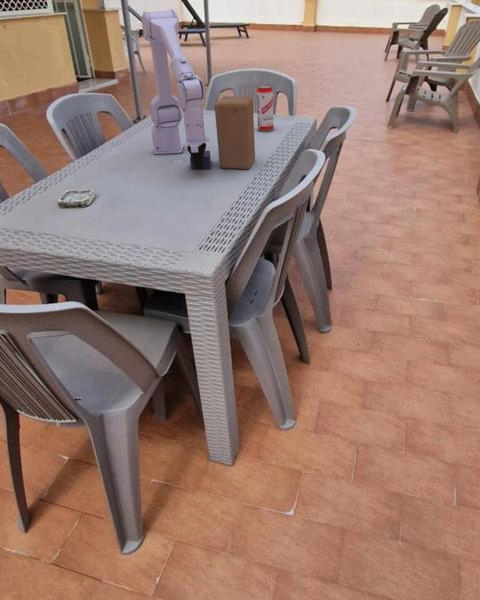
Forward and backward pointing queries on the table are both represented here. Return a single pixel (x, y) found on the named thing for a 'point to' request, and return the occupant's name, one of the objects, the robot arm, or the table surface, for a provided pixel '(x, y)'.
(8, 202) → the table surface
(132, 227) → the table surface
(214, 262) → the table surface
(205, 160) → the navy block
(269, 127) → the beer can
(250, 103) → the wooden block
